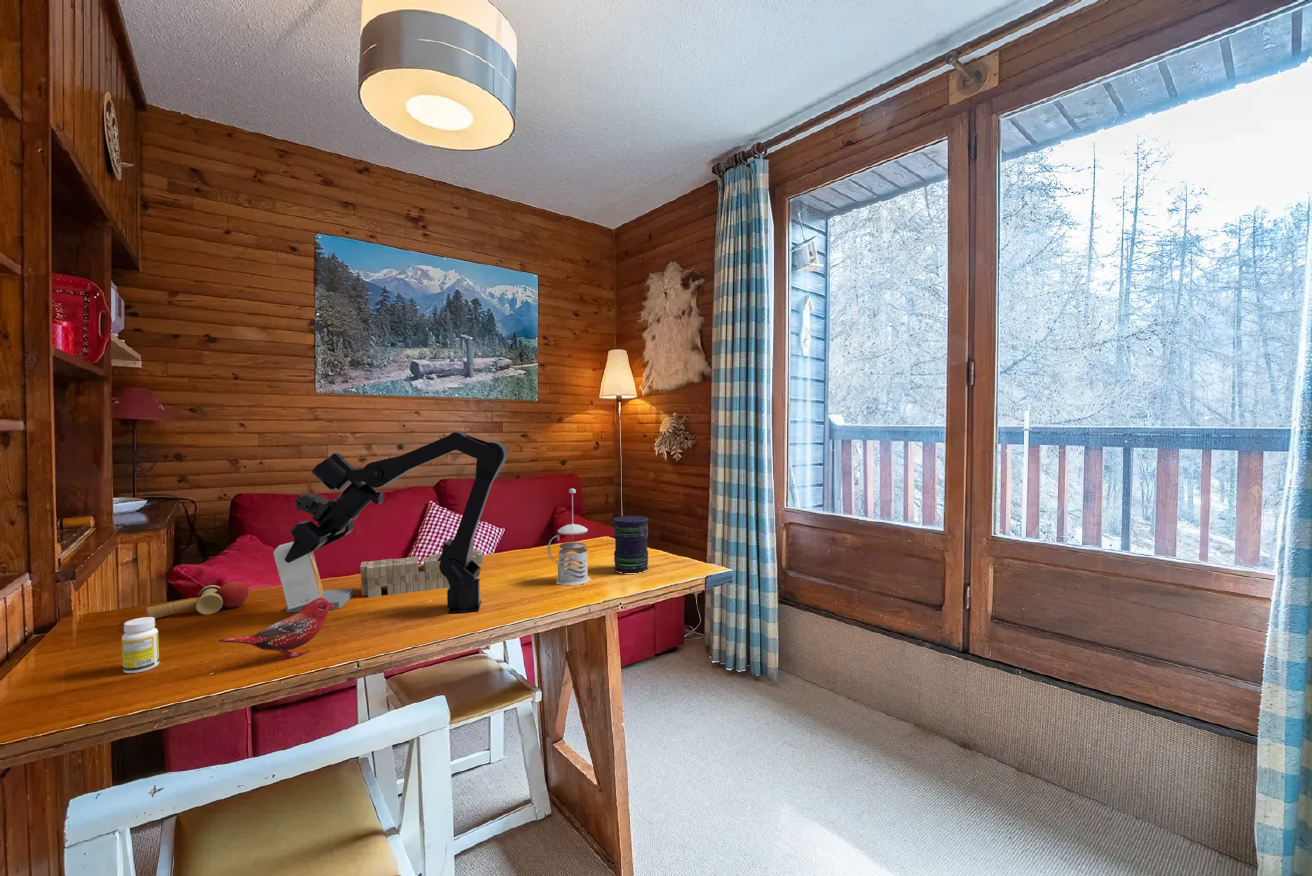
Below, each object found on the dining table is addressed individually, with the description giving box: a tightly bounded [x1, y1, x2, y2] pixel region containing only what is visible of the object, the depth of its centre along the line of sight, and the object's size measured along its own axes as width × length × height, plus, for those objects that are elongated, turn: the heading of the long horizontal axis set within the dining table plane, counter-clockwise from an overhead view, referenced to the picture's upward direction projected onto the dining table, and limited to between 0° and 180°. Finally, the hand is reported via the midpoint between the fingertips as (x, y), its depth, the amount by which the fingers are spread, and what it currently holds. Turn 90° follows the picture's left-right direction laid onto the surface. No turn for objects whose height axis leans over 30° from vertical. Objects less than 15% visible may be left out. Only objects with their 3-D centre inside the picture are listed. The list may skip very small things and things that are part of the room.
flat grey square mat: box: [285, 588, 355, 613], centre depth 133 cm, size 11×11×2 cm
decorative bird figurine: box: [217, 598, 334, 661], centre depth 101 cm, size 3×18×10 cm, turn 134°
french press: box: [547, 488, 592, 586], centre depth 151 cm, size 10×12×25 cm
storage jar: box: [613, 515, 649, 573], centre depth 161 cm, size 10×10×15 cm
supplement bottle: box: [121, 616, 160, 674], centre depth 98 cm, size 5×5×8 cm
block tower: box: [359, 549, 484, 598], centre depth 146 cm, size 8×8×29 cm
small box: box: [272, 541, 324, 609], centre depth 124 cm, size 8×6×13 cm
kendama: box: [145, 580, 250, 620], centre depth 128 cm, size 8×6×18 cm
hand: (297, 556), depth 124 cm, fingers closed on small box, 9 cm apart
